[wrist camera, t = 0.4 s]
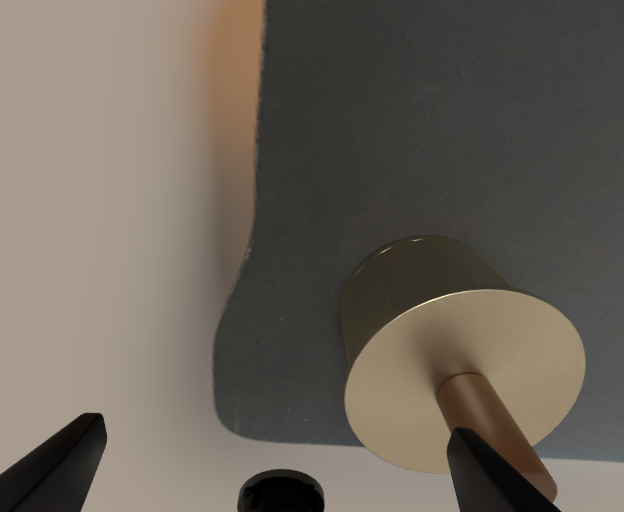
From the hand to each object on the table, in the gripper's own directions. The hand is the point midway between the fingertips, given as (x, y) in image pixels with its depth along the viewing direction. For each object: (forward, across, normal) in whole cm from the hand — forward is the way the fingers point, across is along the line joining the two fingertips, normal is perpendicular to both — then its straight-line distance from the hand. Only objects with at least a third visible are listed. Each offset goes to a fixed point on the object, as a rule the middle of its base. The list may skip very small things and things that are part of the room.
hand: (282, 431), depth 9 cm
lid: (+6, -8, +3) cm, 10 cm away
